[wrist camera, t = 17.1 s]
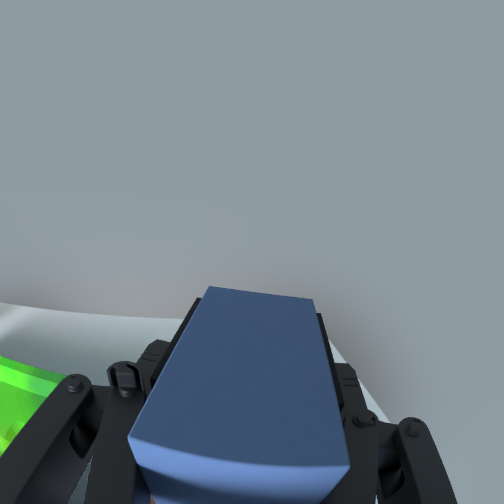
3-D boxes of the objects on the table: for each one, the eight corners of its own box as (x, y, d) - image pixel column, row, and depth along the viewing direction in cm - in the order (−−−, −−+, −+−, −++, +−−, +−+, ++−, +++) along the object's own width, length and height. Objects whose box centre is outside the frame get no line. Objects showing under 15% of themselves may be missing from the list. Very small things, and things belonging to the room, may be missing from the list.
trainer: (283, 377, 20) (305, 267, 17) (280, 552, 6) (360, 484, 4) (215, 368, 20) (223, 256, 18) (165, 536, 7) (113, 451, 4)
